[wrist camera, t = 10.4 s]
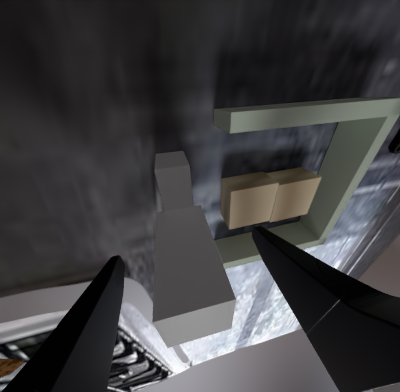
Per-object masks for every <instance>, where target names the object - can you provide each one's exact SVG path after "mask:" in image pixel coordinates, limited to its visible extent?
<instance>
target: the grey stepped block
mask: <svg viewBox="0 0 400 392" xmlns="http://www.w3.org/2000/svg"><path fill="white" fill-rule="evenodd" d="M154 170H155V175H156V179H157V183H158V187H159V192H160V196H161V200H162V204H163V209H164V212H159V213H157V215H156V242H155V270H154V297H153V324H154V326H155V327H156V329H157V331H158V332H159V334H160V336H161V337H162V339H163V341H164V342H165V344H166V346H167V348H169V347H172V346H175V345H179V344H182V343H185V342H189V341H192V340H195V339H198V338H202V337H205V336H208V335H211V334H215V333H218V332H221V331H225V330H228V329H231V326H232V320H233V314H234V308H235V302H236V298H235V296H234V293H233V290H232V288H231V285H230V282H229V280H228V277H227V274H226V272H225V269H224V266H223V264H222V261H221V258H220V255H219V253H218V250H217V247H216V245H215V242H214V239H213V237H212V234H211V231H210V229H209V226H208V223H207V221H206V218H205V215H204V213H203V210H202V207H201V205H199V206H194V205H193V195H192V184H191V174H190V165H189V163H188V160H187V158H186V156H185V153H184V151H176V152H168V153H160V154H156V157H155V168H154Z"/></svg>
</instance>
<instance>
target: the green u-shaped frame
mask: <svg viewBox="0 0 400 392" xmlns="http://www.w3.org/2000/svg"><path fill="white" fill-rule="evenodd" d="M399 115H400V97H358V98H345V99H333V100H321V101H308V102H296V103H283V104H271V105H259V106H246V107H234V108H221V109H214V126H216V127H218V128H220V129H222V130H224V131H226V132H228V133H239V132H248V131H257V130H267V129H276V128H285V127H294V126H303V125H313V124H322V123H331V122H339V123H338V125H337V128H336V130H335V133H334V135H333V138H332V140H331V143H330V145H329V148H328V150H327V153H326V155H325V157H324V160H323V162H322V165H321V167H320V170H319V172H318V176H320V177H322V178H321V180H320V183H319V185H318V188H317V190H316V192H315V195H314V197H313V200H312V202H311V205H310V207H309V210H308V212H307V214H305V215H301V217H300V219H299V221H298V222H294V223H289V224H285V225H280V226H276V227H271V228H267V230H269V231H271V232H272V233H274V234H276V235H278V236H279V237H281V238H283V239H284V240H286V241H288V242H290V243H291V244H293V245H295V246H296V247H298V248H300V249H305V248H309V247H313V246H317V245H321V244H324V242H325V240H326V239H327V237H328V235H329V234H330V232H331V230H332V229H333V227H334V225H335V223H336V222H337V220H338V218H339V217H340V215H341V213H342V212H343V210H344V208H345V206H346V205H347V203H348V201H349V200H350V198H351V196H352V195H353V193H354V191H355V190H356V188H357V186H358V184H359V183H360V181H361V179H362V178H363V176H364V174H365V173H366V171H367V169H368V167H369V166H370V164H371V162H372V161H373V159H374V157H375V156H376V154H377V152H378V151H379V149H380V147H381V145H382V144H383V142H384V140H385V139H386V137H387V135H388V134H389V132H390V130H391V128H392V127H393V125H394V123H395V122H396V120H397V118H398V117H399ZM214 242H215V245H216V247H217V250H218V253H219V255H220V258H221V261H222V264H223V266H224V269H227V268H231V267H235V266H239V265H243V264H247V263H250V262H254V261H258V260H262V258H261V256H260V254H259V252H258V249H257V247H256V245H255V243H254V241H253V238H252V232H249V233H244V234H240V235H235V236H231V237H226V238H222V239H217V240H214Z"/></svg>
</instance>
